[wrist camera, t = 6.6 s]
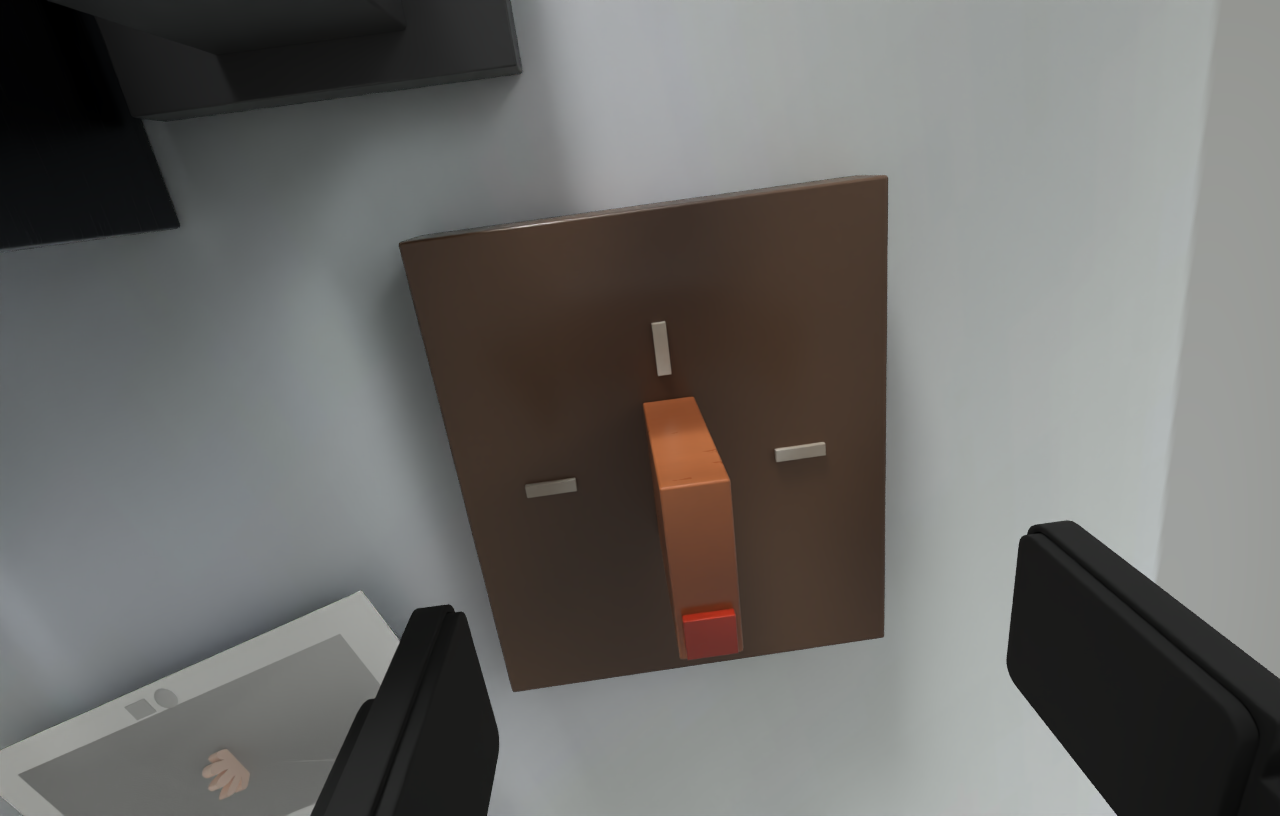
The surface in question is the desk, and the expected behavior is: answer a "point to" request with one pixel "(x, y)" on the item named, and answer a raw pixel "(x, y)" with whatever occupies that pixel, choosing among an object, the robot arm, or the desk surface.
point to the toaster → (69, 136)
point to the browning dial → (655, 371)
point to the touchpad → (215, 728)
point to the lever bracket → (294, 49)
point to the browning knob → (694, 529)
